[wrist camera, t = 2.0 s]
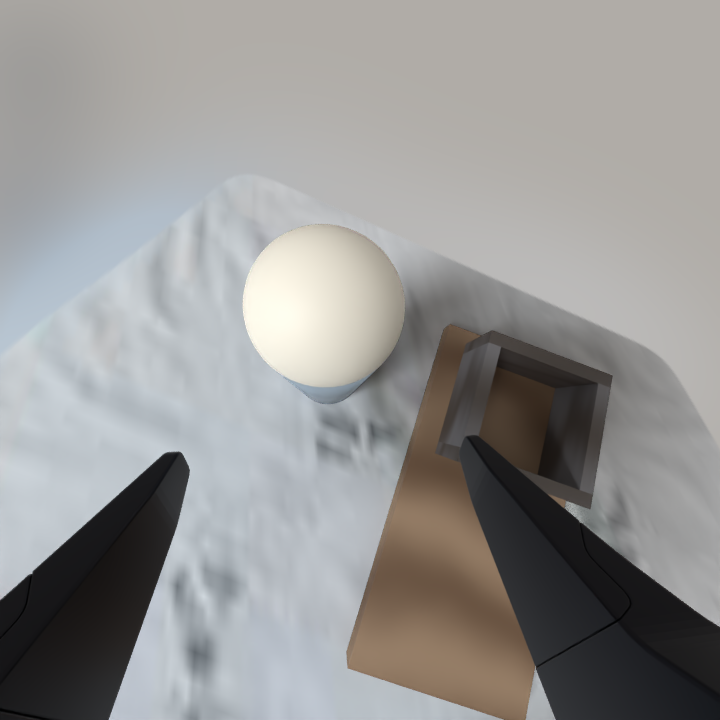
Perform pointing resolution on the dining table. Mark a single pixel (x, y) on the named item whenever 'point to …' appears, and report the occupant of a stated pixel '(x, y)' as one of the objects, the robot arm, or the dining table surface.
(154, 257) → the dining table surface
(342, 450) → the dining table surface
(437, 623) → the board
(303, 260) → the post
